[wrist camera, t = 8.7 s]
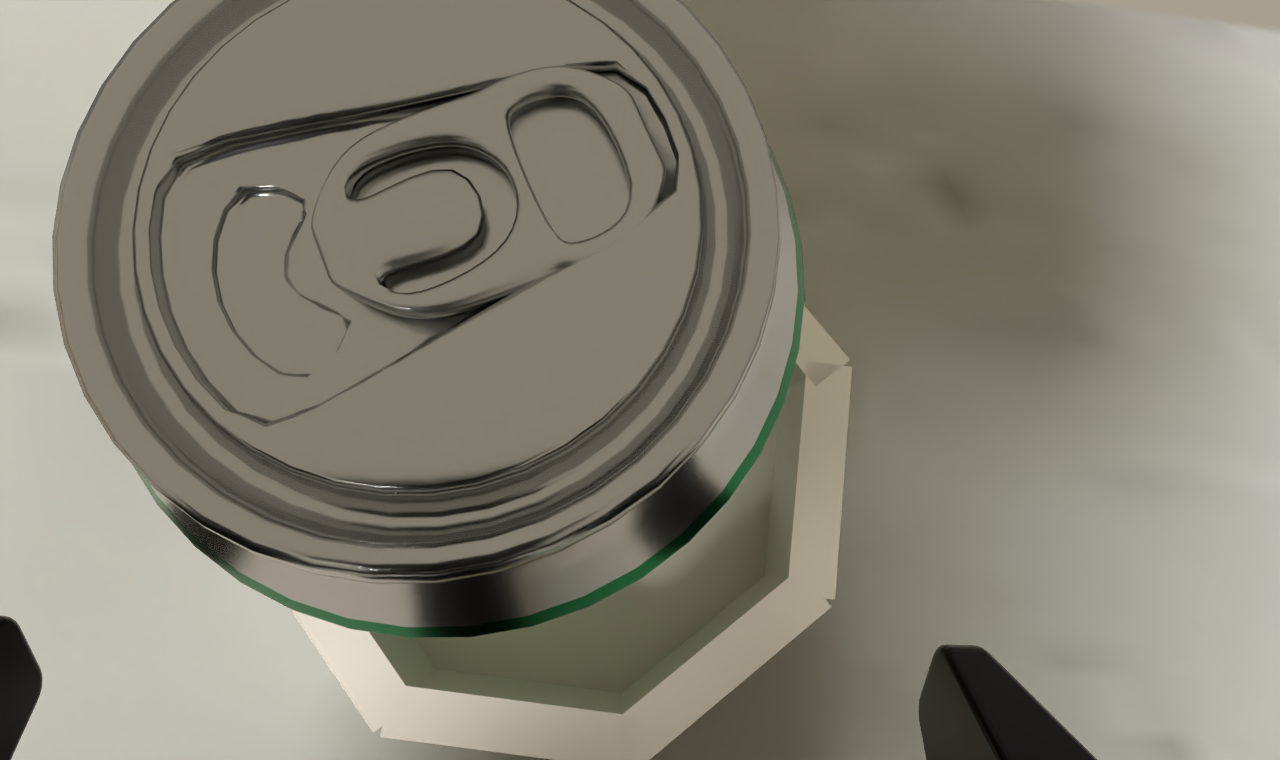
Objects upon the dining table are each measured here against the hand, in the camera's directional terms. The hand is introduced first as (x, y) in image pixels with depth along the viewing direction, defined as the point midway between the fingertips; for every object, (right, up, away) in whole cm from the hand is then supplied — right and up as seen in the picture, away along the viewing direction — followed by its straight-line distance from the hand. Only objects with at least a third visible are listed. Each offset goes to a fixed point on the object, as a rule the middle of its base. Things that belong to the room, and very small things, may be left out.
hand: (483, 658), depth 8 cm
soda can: (0, +1, +9) cm, 9 cm away
